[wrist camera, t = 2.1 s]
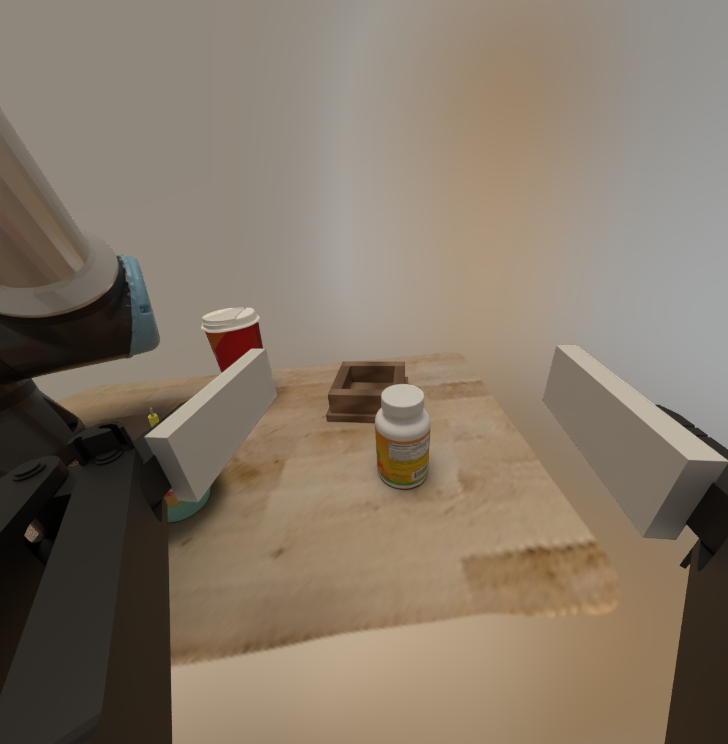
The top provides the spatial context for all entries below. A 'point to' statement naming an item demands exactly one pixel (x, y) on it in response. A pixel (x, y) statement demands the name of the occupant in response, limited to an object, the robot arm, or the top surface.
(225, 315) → the paper cup
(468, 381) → the top surface
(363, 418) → the socket block
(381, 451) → the supplement bottle
